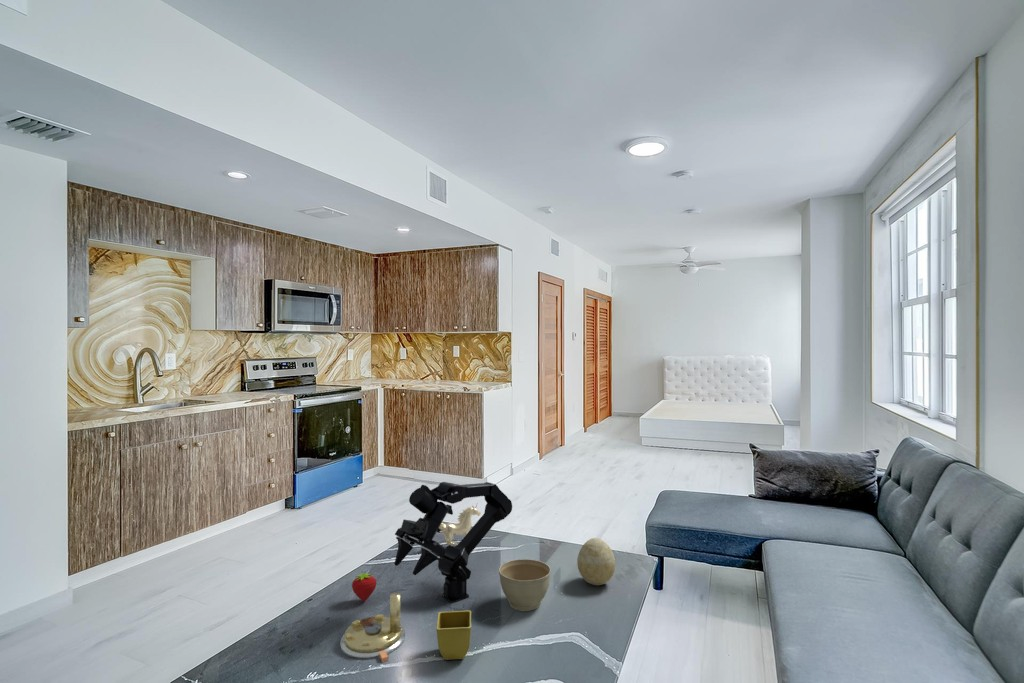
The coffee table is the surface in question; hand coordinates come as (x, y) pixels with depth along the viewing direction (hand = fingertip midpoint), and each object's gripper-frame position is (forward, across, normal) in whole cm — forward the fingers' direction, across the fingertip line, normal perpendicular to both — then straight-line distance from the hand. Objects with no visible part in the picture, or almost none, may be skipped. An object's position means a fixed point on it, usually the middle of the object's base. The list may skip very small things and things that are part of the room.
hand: (404, 569), depth 148 cm
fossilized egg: (-26, +28, +54) cm, 66 cm away
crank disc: (+19, +2, 0) cm, 19 cm away
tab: (+20, +12, -1) cm, 24 cm away
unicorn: (-19, -30, +44) cm, 57 cm away
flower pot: (+12, +24, +9) cm, 28 cm away
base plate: (+19, +2, 0) cm, 19 cm away
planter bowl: (-9, +20, +33) cm, 40 cm away
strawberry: (+13, -18, +8) cm, 24 cm away
